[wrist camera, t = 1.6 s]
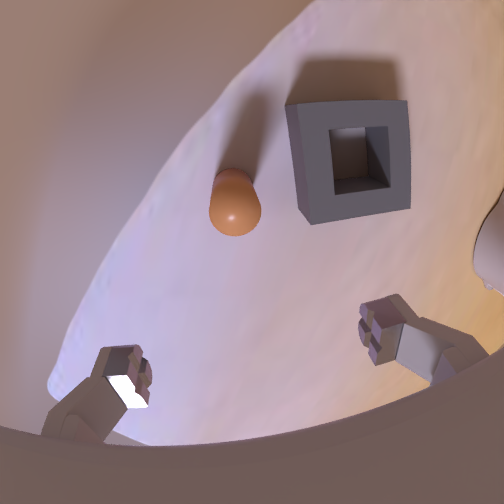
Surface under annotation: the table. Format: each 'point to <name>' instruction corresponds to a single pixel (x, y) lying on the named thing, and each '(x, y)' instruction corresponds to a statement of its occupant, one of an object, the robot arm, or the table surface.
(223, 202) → the peg
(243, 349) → the table surface
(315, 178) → the socket holder
